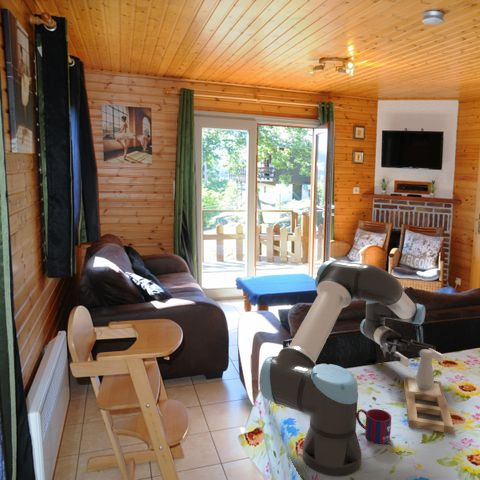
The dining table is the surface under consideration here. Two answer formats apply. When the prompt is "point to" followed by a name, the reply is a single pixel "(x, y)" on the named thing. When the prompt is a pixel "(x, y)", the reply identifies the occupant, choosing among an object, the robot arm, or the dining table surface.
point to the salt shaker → (425, 370)
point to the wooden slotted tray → (427, 407)
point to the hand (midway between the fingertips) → (425, 361)
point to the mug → (376, 425)
